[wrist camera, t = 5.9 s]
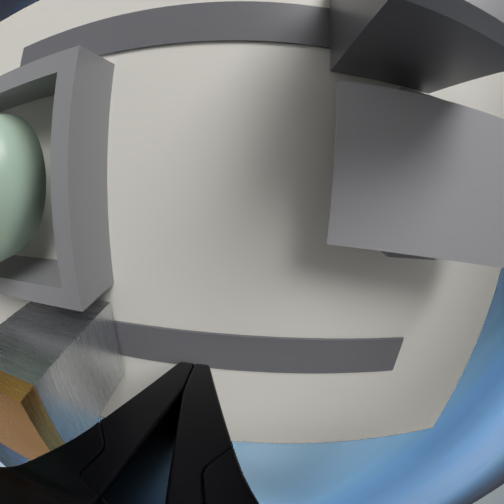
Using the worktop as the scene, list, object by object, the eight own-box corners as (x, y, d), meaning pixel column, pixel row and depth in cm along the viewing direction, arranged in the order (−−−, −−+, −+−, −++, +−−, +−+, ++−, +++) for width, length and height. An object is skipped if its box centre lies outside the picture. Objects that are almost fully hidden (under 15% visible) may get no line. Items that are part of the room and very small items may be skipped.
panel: (485, 37, 7) (535, 17, 3) (422, 408, 12) (446, 455, 9) (2, 38, 7) (-45, 26, 4) (26, 369, 12) (-5, 404, 9)
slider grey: (423, 10, 6) (514, -57, 1) (431, 97, 7) (560, 67, 2) (325, -16, 6) (369, -129, 1) (326, 74, 7) (405, -25, 2)
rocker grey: (510, 130, 5) (525, 128, 4) (496, 259, 6) (509, 269, 5) (336, 89, 6) (337, 81, 5) (326, 235, 7) (326, 244, 6)
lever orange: (112, 299, 9) (19, 401, 4) (127, 375, 10) (71, 479, 5) (41, 288, 9) (-50, 360, 4) (61, 359, 10) (-4, 439, 5)
